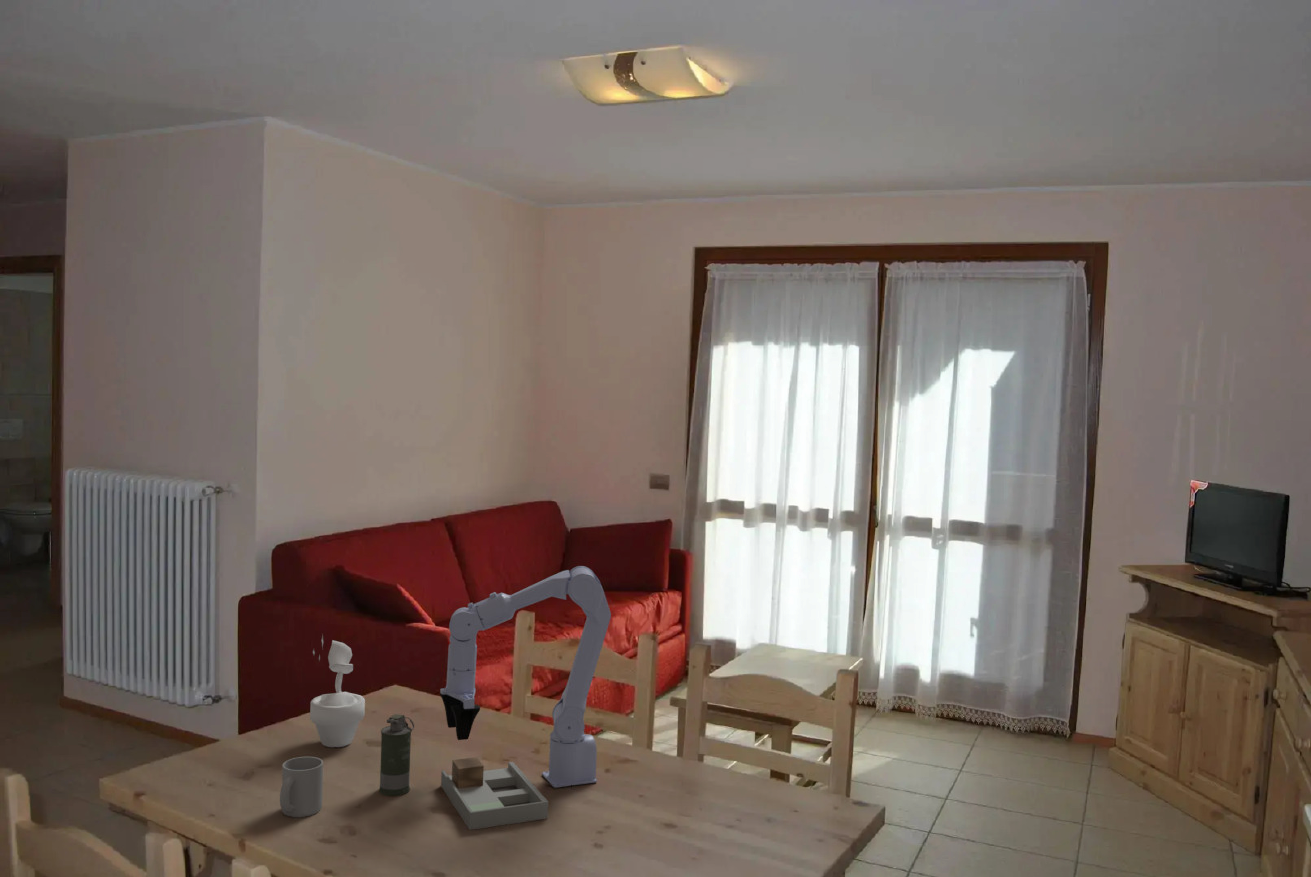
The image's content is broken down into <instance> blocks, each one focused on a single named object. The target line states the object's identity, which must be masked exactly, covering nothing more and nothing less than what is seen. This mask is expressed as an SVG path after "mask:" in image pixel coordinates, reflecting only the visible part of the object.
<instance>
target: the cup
mask: <svg viewBox="0 0 1311 877" xmlns="http://www.w3.org/2000/svg"><path fill="white" fill-rule="evenodd" d="M281 771H282V775H281V776H282V778H281V780H282V781H281V787H280V791H279V792H280V794H279V805H280V809H281V812H282V814H284V816H286V815H287V816H286V817H289V816H292V817H291V818H306V817H305V816H307V817H312V816H313V815H316V814H318V813H319V812H320V811H321V809H322V806H323V788H324V787H323V784H324V782H323V781H324V761H323V759H321V758H319V757H315V756H299V757H294V758H290V759H288V760H287V759H286V761H284V762H283V763H282V770H281ZM317 812H318V813H317Z"/></svg>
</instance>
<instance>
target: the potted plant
mask: <svg viewBox="0 0 1311 877" xmlns="http://www.w3.org/2000/svg"><path fill="white" fill-rule="evenodd" d="M320 641H321V647H322V649H324V648H323V647H324V642H325V641H324V635H323V634H322V636H321V640H320ZM312 654H313V656H315V654H316V652H315V649H313V650H312ZM352 657H353V653H352V648H351V647H350V646H348V645H347V644H346V643H344V642H342V641H341V642H340V641H337V640H333V639H332V641H331V646H330V649H329V652H328V656H327V659H328V664H329V666H328V668H329V669H330V670H331V671H332V672H334V673H337V674H336V677H335V682H334V687H335V691H336V692H333V693H325V694H321V695H319V696H316V697H314V698H313V699H311V701H310V708H309V709H310V713H309V714H310V715H309V716H310V717H309V718H310V719H309V720H310V721H311V722H312V723H313V724H314V725H315V728H316V731H317V734H318V736H319V740H320V743H321V744H322V746H324V747H327V748H334V747H337V748H343V747H346V746H348V745H350V744H351V743H352V742H353V741H354V740H353V739H354V737H355V734H356V731H357V729H358V726H359V723H360V722H361V721H362V720H363V719H364V718H365V714H366V713H365V709H366V708H365V707H366V699H365V698H364V696H362V695H360V694H357V693H351V692H348V691H342V683H343V676H344V674H346V675H347V674H350V673H351V672H353V670H354V664H353V663H350V662H351V659H352ZM318 660H319V662H320V660H321V655H320V654H319V657H318Z"/></svg>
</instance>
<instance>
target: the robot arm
mask: <svg viewBox="0 0 1311 877" xmlns="http://www.w3.org/2000/svg"><path fill="white" fill-rule="evenodd" d="M567 595H568V596H569V598H570V599H571V600H572V601H573V602H574V603H575V604H576V605H577V606H579V607H580V608H581V609H582V611H583V613H584V614H585V616H586V620H585V623H584V626H583V629H582V633H581V635H580V638H579V642H578V646H577V650H576V652H575V653H576V654H575V656H574V659H573V662H572V666H571V669H570V673H569V676H568V679H567V683H566V685H565V689H564V690H563V692H562V695H561V698H560V699H559V701H558V702H557V703H556V704H555V705H554V707H553V708H552V709H553V710H552V713H551V716H552V720H553V730H552V732H550V734H549V754H548V755H549V757H548V771H542V773H541V774H542V776H543V778H545V779H546V781H548V783H549V784H550V785H551V786H552V787H553V788H556V789H557V788H562V787H564V788H566V787H572V786H579V785H585V784H586V785H587V784H594V783H597V782H598V779H596V778H597V775H596V774H597V756H598V754H597V753H598V750H597V743H596V740H595V738H594V736H593V735H592V734H585V732H584V731H585V729H586V727H585V720H584V717H585V712H586V706H587V700H588V699H587V698H588V695H589V691H590V688H591V684H592V681H593V678H594V675H595V672H596V669H597V665H598V662H599V658H600V656H601V652H602V647H603V645H604V641H605V638H606V634H607V632H608V628H609V624H610V622H611V618H612V614H611V613H612V612H611V610H610V606H609V603H608V600H607V597H606V594H605V591H604V589H603V586H602V584H601V581H600V580H599V578H598V576H597V575H596V574H595V573H594V571H593V570H592V569H591V568H589V567H587V566H584V565H578V566H575V567H573V568H572V569H570V570H569V569H567V570H566V569H565V570H562V571H560V572H558V573H556V574H553V575H550V576H548V577H546V578H545V579H543V580H541V581H538V582H536V583H534V584H531V585H529V586H528V587H525V588H523V589H521V590H519V591H517V592H515V593H513V594H507V593H504V592H500V593H497V592H495V591H493V592H492V593H490V594H489V597H487V598H485V599H483V600H480V601H478V602H475V603H473V602H470V603H467V607H460V608H457V609H455V611H454V612H453V614H452V615H451V617H450V621H449V624H448V625H449V626H448V628H449V632H450V635H449V644H448V649H447V650H448V653H447V672H446V684H445V685H446V686H445V687H444V688H440V690H439V691H440V692H439V695H440V698H441V700H442V703H443V706H444V712H445V716H446V724H447V727H448V728H449V729H450V728H451V729H452V728H455V733H456V740H457V741H464V740H466V741H467V740H469V737H470V734H471V731H472V728H473V723H474V721H475V719H476V717H477V715H478V714H479V712H480V710H481V706H480V705H479V704H475V700H476V699H475V695H476V673H477V672H476V670H477V669H476V668H477V653H478V645H477V634H478V633H479V631H485V630H488V629H491V628H493V627H495V626H498V625H500V624H503V623H504V622H507V621H509V620H511V619H513V618H514V614H515V612H516V611H518V610H520V609H524V608H526V607H527V606H530V605H533V604H536V603H539V602H541V601H544V600H547V599H549V598H551V597H552V598H557V599H561V600H567ZM571 785H572V786H571Z"/></svg>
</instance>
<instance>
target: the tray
mask: <svg viewBox="0 0 1311 877" xmlns="http://www.w3.org/2000/svg"><path fill="white" fill-rule="evenodd" d="M507 766H508V767H506V768H498V769H497V768H495V769H489V770H483V786H477V787H469V788H461V789H458V788H457V787H456V785H455V784H454V782H453V781H452V774H448V773H447V772H446V771H445V769H443V770H441V775H440V776H441V777H440V778H441V779H440V787H441V786H442V787H441V788H442V790H443V791H444V793H445V794H446V796H447V797H448V799H449V800H450V802H451V804H452V805H453V806H454V808H455V809H456V811H457V813H458V814H459V816H460V817H461V819H462V820H463V822H464V823H465V825H466V826H467V828H468V830H469V831H471V830H479V829H486V828H491V827H500V826H504V825H505V824H507V825H511V824H519V823H526V822H532V821H538V820H546V819H548V816H549V815H548V813H549V801H548V800H547V799H546V797H545V796H544V795H543V794H542V793H541V792H540V790H539V789H538V788H537V787H536V786H535V785H534V784H533V783H532V781H531V780H529V778H528V777H527V776H526V774H524V772H522V770H521V769H520V768H519V767H518V766H517V764H516V763H515V761H509V762H508V763H507ZM499 825H500V826H499Z"/></svg>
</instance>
